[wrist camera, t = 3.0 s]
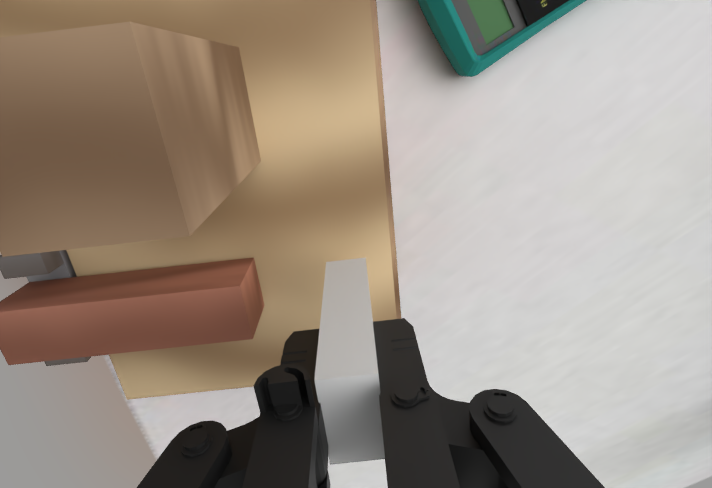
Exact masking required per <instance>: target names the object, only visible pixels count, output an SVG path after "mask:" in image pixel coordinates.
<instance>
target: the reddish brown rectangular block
mask: <svg viewBox="0 0 712 488" xmlns="http://www.w3.org/2000/svg"><path fill="white" fill-rule="evenodd" d="M264 306H265V305H264V300H263V296H262V291H261V287H260V282H259V278H258V273H257V269H256V264H255V260H254V257H253V258H244V259H235V260H226V261H217V262H208V263H199V264H190V265H180V266H171V267H162V268H153V269H144V270H135V271H126V272H117V273H108V274H98V275H89V276H80V277H71V278H62V279H53V280H44V281H35V282H29V283H28V284H26V285H25V286H23V287H22V288H20V289H19V290H17V291H15V292H14V293H12V294H11V295H9V296H8V297H6V298H5V299H3V300H2V301H1V302H0V350H1V352H2V353H3V355H4V357H5V359H6V361H7V363H8V365H14V364H23V363H32V362H41V361H52V360H61V359H70V358H80V357H89V356H98V355H108V354H118V353H127V352H136V351H146V350H155V349H165V348H174V347H184V346H193V345H203V344H212V343H221V342H231V341H240V340H250V339H253V337H254V334H255V331H256V329H257V326H258V323H259V320H260V317H261V314H262V311H263V308H264Z"/></svg>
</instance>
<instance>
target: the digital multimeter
mask: <svg viewBox="0 0 712 488" xmlns="http://www.w3.org/2000/svg"><path fill="white" fill-rule="evenodd" d="M585 1H586V0H418V3H419V5H420V7H421V10H422V12H423V14H424V16H425V18H426V20H427V22H428V24H429V26H430V28H431V30H432V32H433V34H434V35H435V37H436V39H437V41H438V43H439V44H440V46H441V48H442V50H443V51H444V53H445V55H446V56H447V58H448V60H449V61H450V63H451V65H452V66H453V68H454V69H455V71H456V72H457V73H458V75H461V76H470V77H472V76H475V75H478V74H479V73H480V72H482V71H483V70H485V69H486V68H488V67H489V66H490V65H492V64H493V63H495V62H496V61H498V60H499V59H500V58H502V57H503V56H505V55H506V54H508V53H509V52H510V51H512V50H513V49H515V48H516V47H518V46H519V45H520V44H522V43H523V42H525V41H526V40H528V39H529V38H531V37H532V36H533V35H535V34H536V33H538V32H539V31H541V30H542V29H543V28H545V27H546V26H548V25H549V24H551V23H553V22H554V21H556V20H557V19H559V18H560V17H562V16H563V15H565V14H566V13H568V12H569V11H571V10H572V9H574V8H575V7H577V6H578V5H580V4H582V3H583V2H585Z"/></svg>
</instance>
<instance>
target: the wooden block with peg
mask: <svg viewBox="0 0 712 488" xmlns="http://www.w3.org/2000/svg"><path fill="white" fill-rule="evenodd" d="M60 250H66V251H67V253H68V255H69V258H70V260H71V263H72V265H73V268H74V270H75V273H76V275H77V277H80V276H89V275H98V274H108V273H117V272H126V271H135V270H144V269H153V268H162V267H171V266H180V265H190V264H199V263H208V262H217V261H226V260H235V259H244V258H253V257H254V260H255V264H256V269H257V273H258V278H259V282H260V287H261V291H262V296H263V300H264V305H265V306H264V308H263V311H262V314H261V317H260V320H259V323H258V326H257V329H256V331H255V334H254V337H253V339H250V340H240V341H231V342H221V343H212V344H203V345H193V346H184V347H174V348H165V349H155V350H146V351H136V352H127V353H118V354H109V356H110V359H111V361H112V364H113V366H114V369H115V371H116V373H117V376H118V378H119V381H120V383H121V386H122V388H123V391H124V393H125V396H126V398H127V400H128V399H137V398H147V397H156V396H166V395H176V394H185V393H195V392H205V391H214V390H224V389H234V388H243V387H253V385H254V384H255V382H256V380H257V378H258V377H259V376H260V375H262V374H263V373H264V372H265V371H267V370H269V369H271V368H273V367H275V366H279V365H281V363H280V362H281V357H282V355H283V349H284V344H285V341H286V340H287V339H288V338H289V336H290V335H291V334H292V333H293V332H294V331H302V330H311V329H320V319H321V309H322V299H323V289H324V279H325V269H326V262H331V261H339V260H348V259H357V258H366V265H367V274H368V283H369V292H370V300H371V309H372V318H373V322H374V321H383V320H392V319H397V316H396V304H395V292H394V280H393V269H392V257H391V245H390V233H389V221H388V209H387V197H386V185H385V173H384V161H383V149H382V137H381V126H380V114H379V102H378V90H377V78H376V66H375V54H374V42H373V30H372V18H371V6H370V0H0V252H1V254H2V256H3V257H6V256H15V255H24V254H33V253H42V252H51V251H60Z"/></svg>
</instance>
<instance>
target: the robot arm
mask: <svg viewBox="0 0 712 488" xmlns="http://www.w3.org/2000/svg"><path fill="white" fill-rule="evenodd" d="M280 363H281V365H279V366H275V367H273V368H271V369H269V370H267V371H265V372H264V373H263V374H262V375H260V376H259V377H258V378H257V380H256V382H255V384H254V385H253V386H254V389H255V393H256V397H257V401H258V405H259V409H260V416H259V417H258V418H256V419H255V420H253V421H251V422H249V423H247V424H245V425H242V426H240V427H237V428H234V429H231V430H229V431H226V428H225V427H224V426H223V425H222V424H221V423H218V422H215V421H202V422H199V423H196V424H193V425H190V426H189V427H187V428H186V429H184V430H182V431H181V432H180V433H179V434H178V435H177V436H176V437H175V438H174V439H173V440H172V441H171V442H170V443H169V445H168V446H167V448H166V449H165V450H164V452H163V453H162V454H161V456H160V457H159V458H158V460H157V461H156V462H155V464H154V465H153V466H152V468H151V469H150V471H149V472H148V473H147V475H146V476H145V477H144V479H143V480H142V481H141V483H140V484H139V485H138V487H137V488H330V480H329V475H328V470H327V469H328V455H329V460H330V464H339V463H349V462H358V461H368V460H378V459H385V463H386V473H387V483H388V488H605V487H604V486H603V485H602V484H601V483H600V482H599V481H598V480H597V479H596V478H595V477H594V475H593V474H592V473H591V472H590V471H589V470H588V469H587V468H586V467H585V466H584V464H583V463H582V462H581V461H580V460H579V459H578V458H577V457H576V456H575V455H574V454H573V452H572V451H571V450H570V449H569V448H568V447H567V446H566V445H565V444H564V443H563V441H562V440H561V439H560V438H559V437H558V436H557V435H556V434H555V433H554V432H553V431H552V429H551V428H550V427H549V426H548V425H547V424H546V423H545V422H544V421H543V420H542V418H541V417H540V416H539V415H538V414H537V413H536V412H535V411H534V410H533V409H532V408H531V406H530V405H529V404H528V403H527V402H526V401H525V400H523V399H522V398H521V397H519V396H518V395H516V394H514V393H511V392H509V391H506V390H499V389H491V390H484V391H482V392H480V393H478V394H476V395H475V396H474V397H473V399H472V400H471V401H470V403H466V402H459V401H454V400H450V399H447V398H445V397H442V396H440V395H439V394H437V393H436V392H435V391H434V390H433V389H432V388H431V387H430V385H429V383H428V381H427V378H426V374H425V370H424V366H423V362H422V359H421V355H420V351H419V348H418V344H417V340H416V336H415V332H414V329H413V326H412V325H411V324H410V323H409V322H407V321H406V320H405V319H404V318H402V319H392V320H383V321H374V322H373V318H372V309H371V300H370V292H369V283H368V274H367V265H366V258H357V259H348V260H339V261H331V262H326V269H325V279H324V289H323V299H322V309H321V319H320V329H311V330H302V331H294V332H293V333H292V334H291V335H290V336H289V338H288V339H287V340H286V341H285V344H284V349H283V355H282V357H281V362H280Z"/></svg>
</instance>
